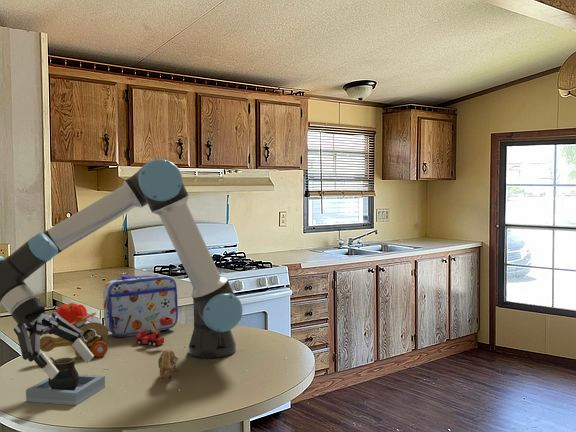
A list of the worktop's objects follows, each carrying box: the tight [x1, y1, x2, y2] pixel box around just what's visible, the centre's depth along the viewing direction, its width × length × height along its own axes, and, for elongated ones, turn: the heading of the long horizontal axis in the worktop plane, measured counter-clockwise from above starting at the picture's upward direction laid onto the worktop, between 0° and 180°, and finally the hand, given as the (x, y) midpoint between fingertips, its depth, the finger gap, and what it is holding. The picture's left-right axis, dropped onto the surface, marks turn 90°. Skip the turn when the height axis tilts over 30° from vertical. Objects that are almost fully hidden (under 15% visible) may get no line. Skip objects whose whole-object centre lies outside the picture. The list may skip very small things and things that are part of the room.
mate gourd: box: [48, 356, 79, 391], centre depth 142 cm, size 7×8×10 cm
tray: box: [25, 373, 106, 406], centre depth 143 cm, size 14×13×3 cm
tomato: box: [55, 302, 88, 328], centre depth 219 cm, size 13×12×8 cm
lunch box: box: [102, 274, 179, 338], centre depth 206 cm, size 28×10×22 cm, turn 122°
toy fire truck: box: [135, 317, 173, 347], centre depth 190 cm, size 3×14×10 cm, turn 68°
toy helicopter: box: [40, 312, 109, 359], centre depth 175 cm, size 8×21×14 cm, turn 122°
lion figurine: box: [158, 349, 179, 383], centre depth 156 cm, size 15×5×9 cm, turn 15°
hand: (73, 367), depth 142 cm, fingers open, 13 cm apart
